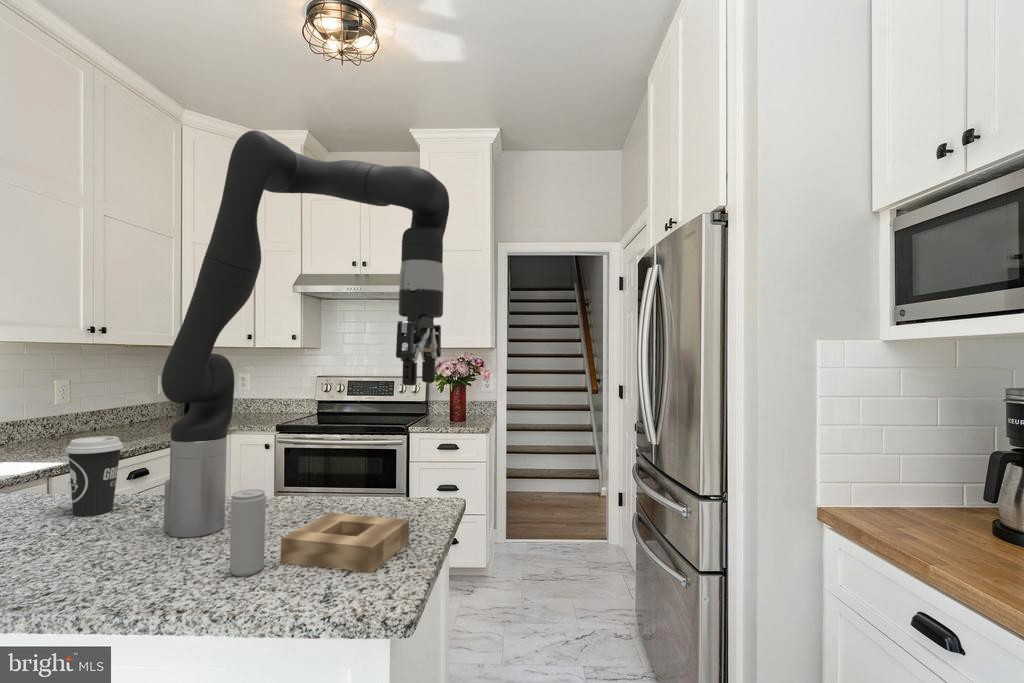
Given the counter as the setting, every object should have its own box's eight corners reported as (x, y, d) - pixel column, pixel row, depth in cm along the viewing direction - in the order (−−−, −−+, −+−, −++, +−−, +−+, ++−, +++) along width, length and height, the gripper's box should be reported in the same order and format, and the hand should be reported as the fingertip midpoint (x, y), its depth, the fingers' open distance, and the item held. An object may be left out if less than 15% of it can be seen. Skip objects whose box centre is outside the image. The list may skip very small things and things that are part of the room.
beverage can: (250, 578, 80) (251, 498, 81) (221, 575, 81) (223, 495, 82) (270, 566, 85) (272, 490, 85) (243, 563, 86) (245, 488, 86)
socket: (280, 563, 87) (281, 537, 87) (328, 534, 100) (328, 512, 100) (372, 573, 83) (372, 547, 83) (408, 542, 97) (409, 519, 97)
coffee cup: (98, 519, 107) (100, 443, 107) (50, 518, 107) (52, 442, 108) (132, 505, 117) (134, 436, 117) (88, 504, 117) (90, 435, 117)
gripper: (416, 293, 101) (414, 381, 100) (382, 284, 87) (380, 385, 86) (455, 293, 99) (453, 382, 99) (426, 284, 85) (424, 387, 85)
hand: (419, 383), depth 93 cm, fingers open, 8 cm apart
